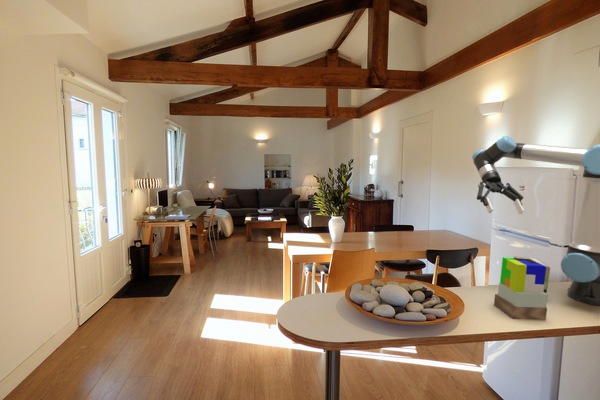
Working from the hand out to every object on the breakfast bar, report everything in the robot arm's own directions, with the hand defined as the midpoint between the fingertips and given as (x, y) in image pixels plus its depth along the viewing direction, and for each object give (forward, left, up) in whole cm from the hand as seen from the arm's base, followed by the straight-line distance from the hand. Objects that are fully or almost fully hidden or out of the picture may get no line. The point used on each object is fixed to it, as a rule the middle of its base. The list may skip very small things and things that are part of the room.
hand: (506, 212), depth 148 cm
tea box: (-11, +2, -36) cm, 37 cm away
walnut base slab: (+6, +23, -36) cm, 43 cm away
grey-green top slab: (+6, +24, -31) cm, 39 cm away
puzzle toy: (+6, +23, -26) cm, 36 cm away
